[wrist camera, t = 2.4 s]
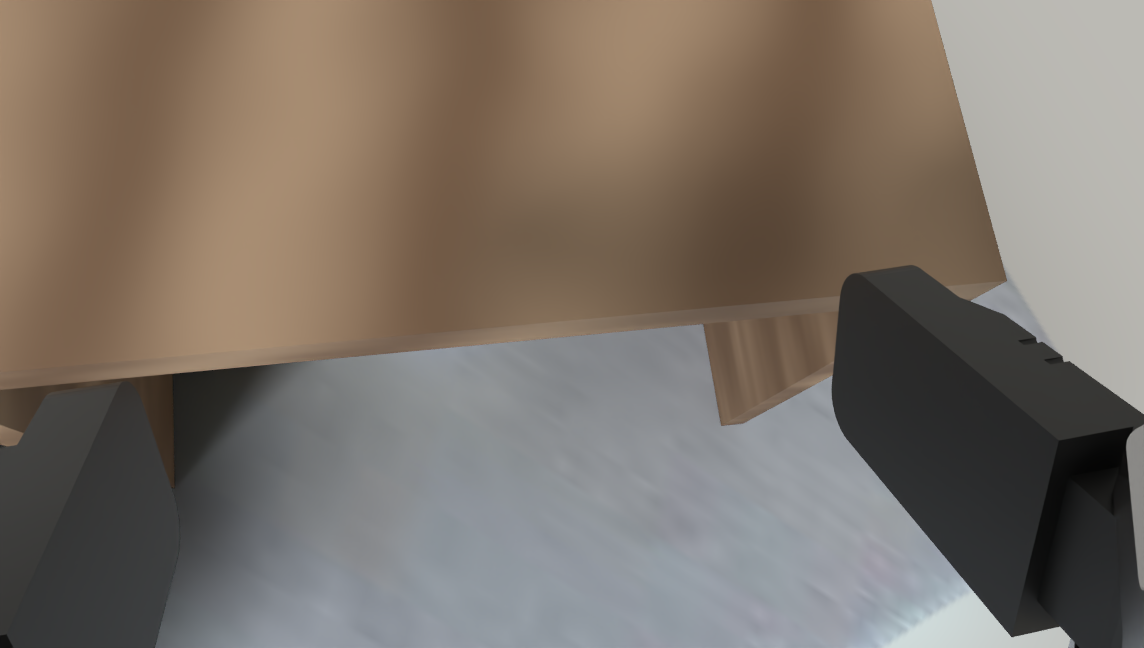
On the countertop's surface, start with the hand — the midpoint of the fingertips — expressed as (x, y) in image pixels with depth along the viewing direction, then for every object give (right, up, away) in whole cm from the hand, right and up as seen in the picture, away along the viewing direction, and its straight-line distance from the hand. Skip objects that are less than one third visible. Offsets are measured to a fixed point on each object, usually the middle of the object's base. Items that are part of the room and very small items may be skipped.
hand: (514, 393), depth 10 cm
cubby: (-4, +3, +25) cm, 25 cm away
